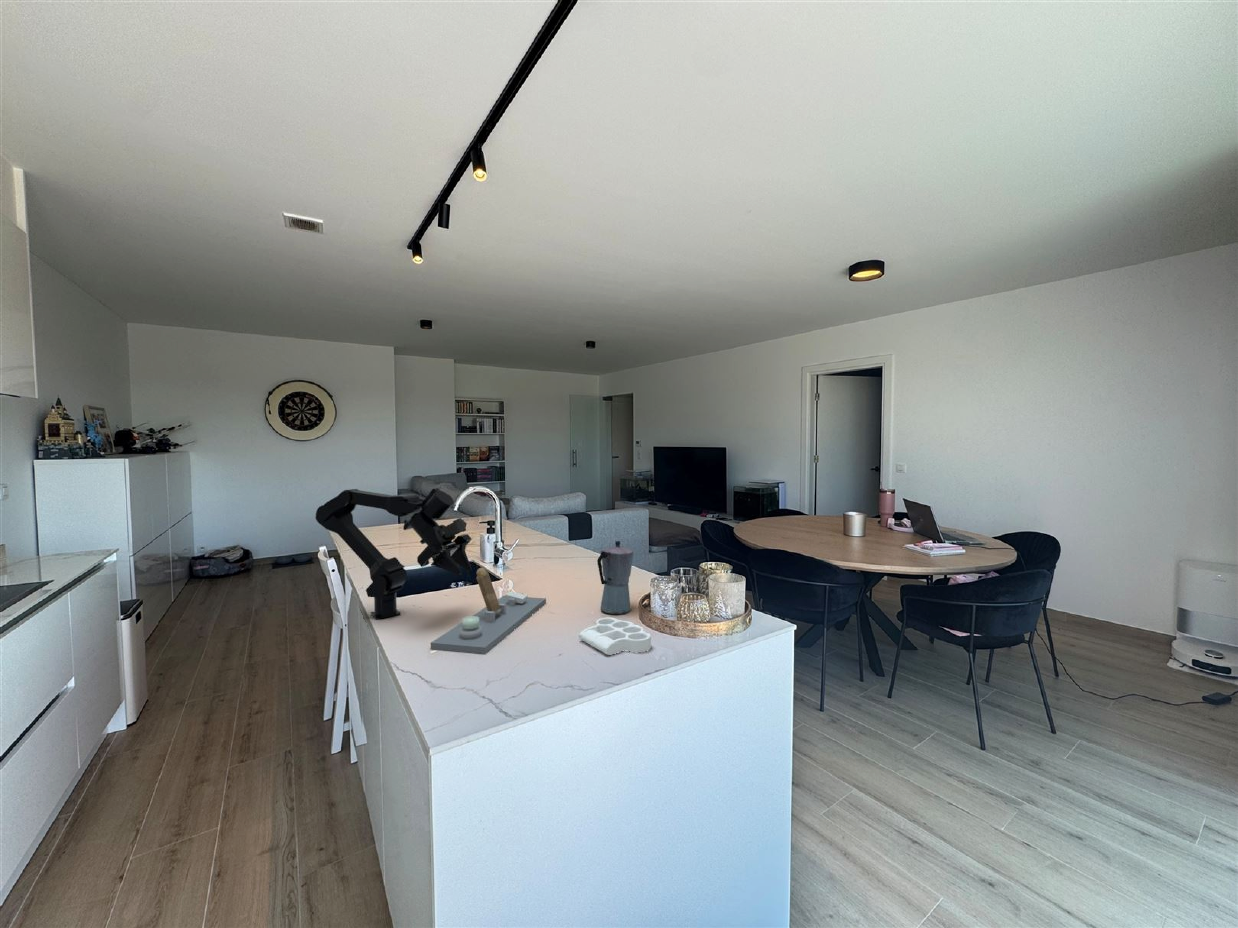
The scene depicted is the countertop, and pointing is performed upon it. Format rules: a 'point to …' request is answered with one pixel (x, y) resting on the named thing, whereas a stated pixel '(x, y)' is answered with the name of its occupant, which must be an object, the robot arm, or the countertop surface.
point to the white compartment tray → (616, 636)
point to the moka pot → (615, 578)
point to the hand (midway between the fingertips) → (465, 571)
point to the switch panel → (488, 627)
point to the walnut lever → (488, 591)
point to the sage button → (470, 622)
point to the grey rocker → (516, 597)
